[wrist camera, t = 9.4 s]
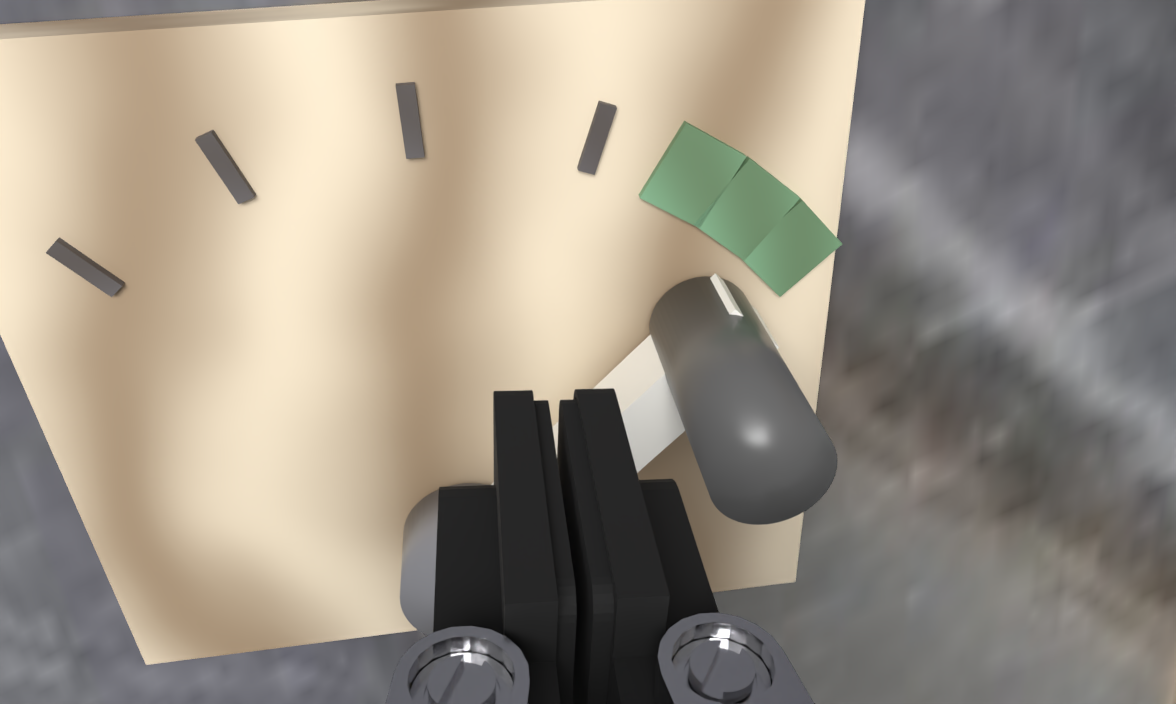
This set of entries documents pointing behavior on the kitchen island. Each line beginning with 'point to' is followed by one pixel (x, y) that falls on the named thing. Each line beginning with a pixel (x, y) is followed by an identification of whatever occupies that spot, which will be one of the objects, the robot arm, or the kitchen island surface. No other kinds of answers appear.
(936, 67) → the kitchen island surface
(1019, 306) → the kitchen island surface
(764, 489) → the tuner needle
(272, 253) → the dial board
